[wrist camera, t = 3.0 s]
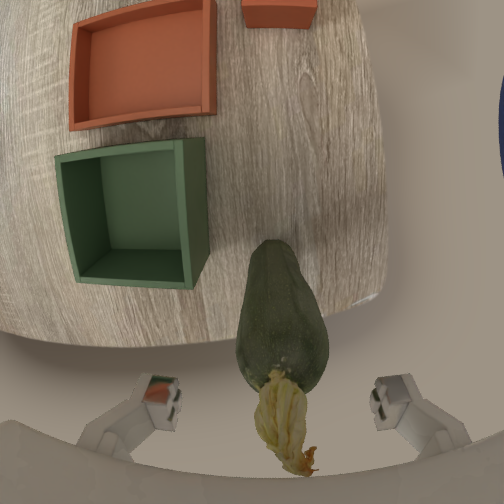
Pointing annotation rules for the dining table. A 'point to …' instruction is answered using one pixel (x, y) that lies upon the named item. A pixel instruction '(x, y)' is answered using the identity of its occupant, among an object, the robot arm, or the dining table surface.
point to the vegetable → (281, 350)
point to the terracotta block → (279, 13)
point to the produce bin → (136, 213)
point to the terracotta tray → (144, 64)
